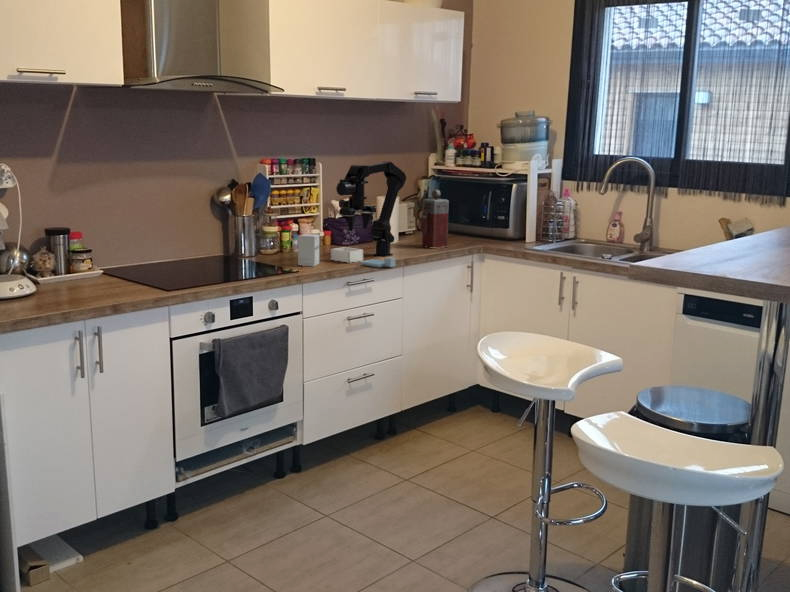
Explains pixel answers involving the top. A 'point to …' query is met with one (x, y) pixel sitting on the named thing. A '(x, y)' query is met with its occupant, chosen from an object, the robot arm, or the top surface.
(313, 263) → the supplement box
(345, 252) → the tub
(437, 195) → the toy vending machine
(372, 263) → the light blue tapered piece
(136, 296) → the top surface
